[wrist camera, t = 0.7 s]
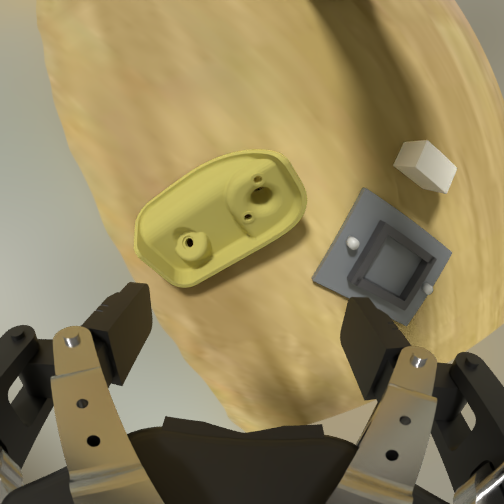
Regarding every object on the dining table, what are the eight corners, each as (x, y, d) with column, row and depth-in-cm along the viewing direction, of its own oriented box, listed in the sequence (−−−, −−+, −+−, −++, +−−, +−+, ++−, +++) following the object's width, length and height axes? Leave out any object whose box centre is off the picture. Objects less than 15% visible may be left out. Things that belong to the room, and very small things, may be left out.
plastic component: (182, 292, 36) (126, 247, 29) (182, 255, 41) (135, 211, 35) (319, 215, 31) (280, 145, 25) (299, 184, 37) (264, 124, 30)
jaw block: (403, 141, 32) (427, 139, 26) (432, 165, 33) (457, 168, 27) (392, 165, 33) (415, 167, 27) (422, 188, 34) (446, 194, 28)
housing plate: (362, 187, 34) (371, 189, 31) (448, 250, 37) (458, 256, 34) (311, 277, 38) (315, 286, 35) (404, 323, 40) (411, 332, 38)
